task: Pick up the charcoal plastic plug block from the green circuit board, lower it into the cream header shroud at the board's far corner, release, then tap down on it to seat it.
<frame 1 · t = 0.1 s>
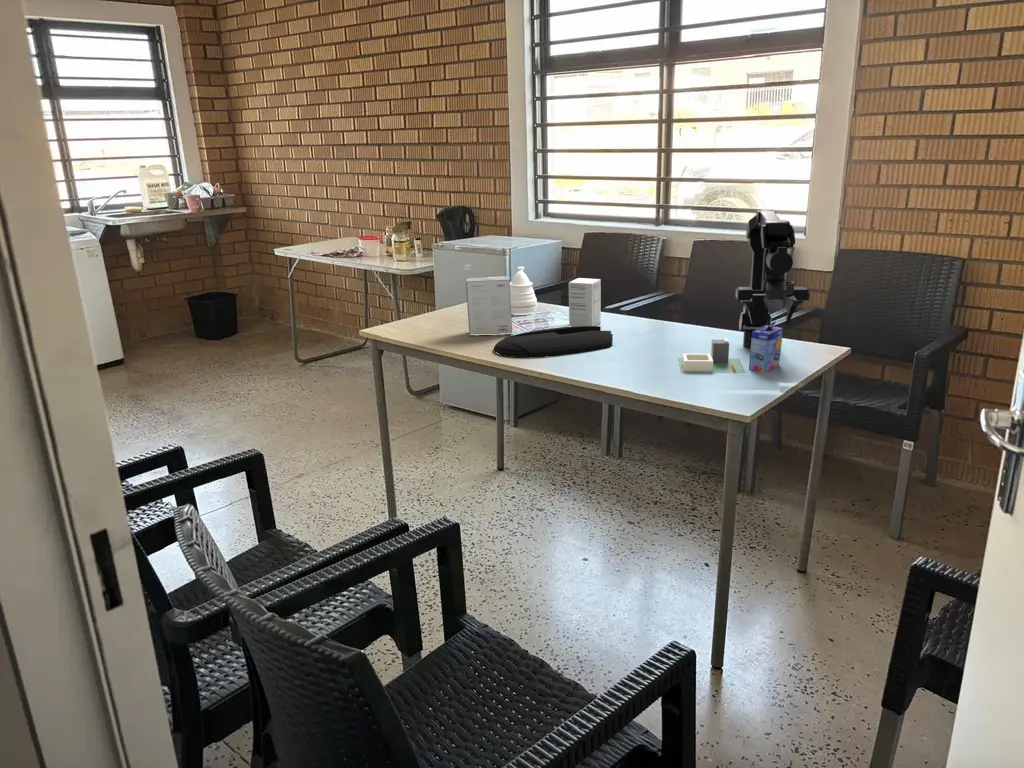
hand: (769, 324, 209), 15 cm above the table, fingers open, 9 cm apart
honey pot: (521, 313, 304), on the table
board: (710, 368, 221), on the table
header: (697, 367, 219), resting on board
plug: (719, 361, 224), point 1 cm above the table, touching board
supplement box: (584, 326, 278), on the table
hard drive box: (490, 334, 271), on the table
docking station: (552, 348, 252), on the table
ink cartridge box: (764, 371, 217), on the table
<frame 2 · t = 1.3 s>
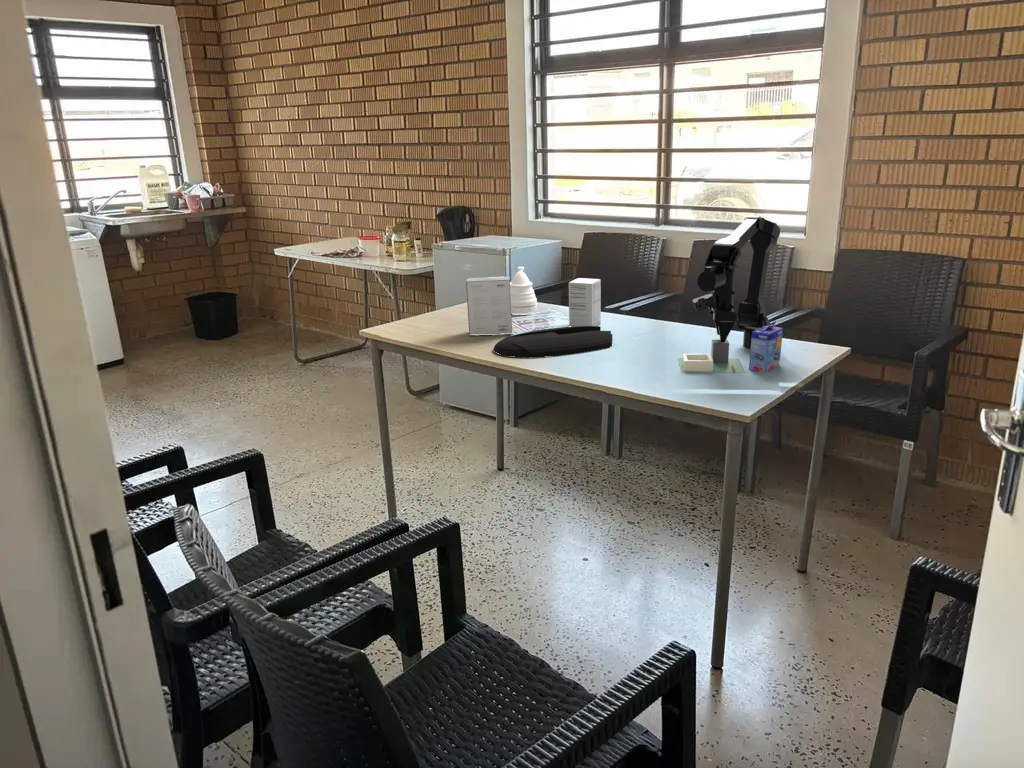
hand: (720, 338, 222), 8 cm above the table, fingers open, 9 cm apart
nothing on the table moved.
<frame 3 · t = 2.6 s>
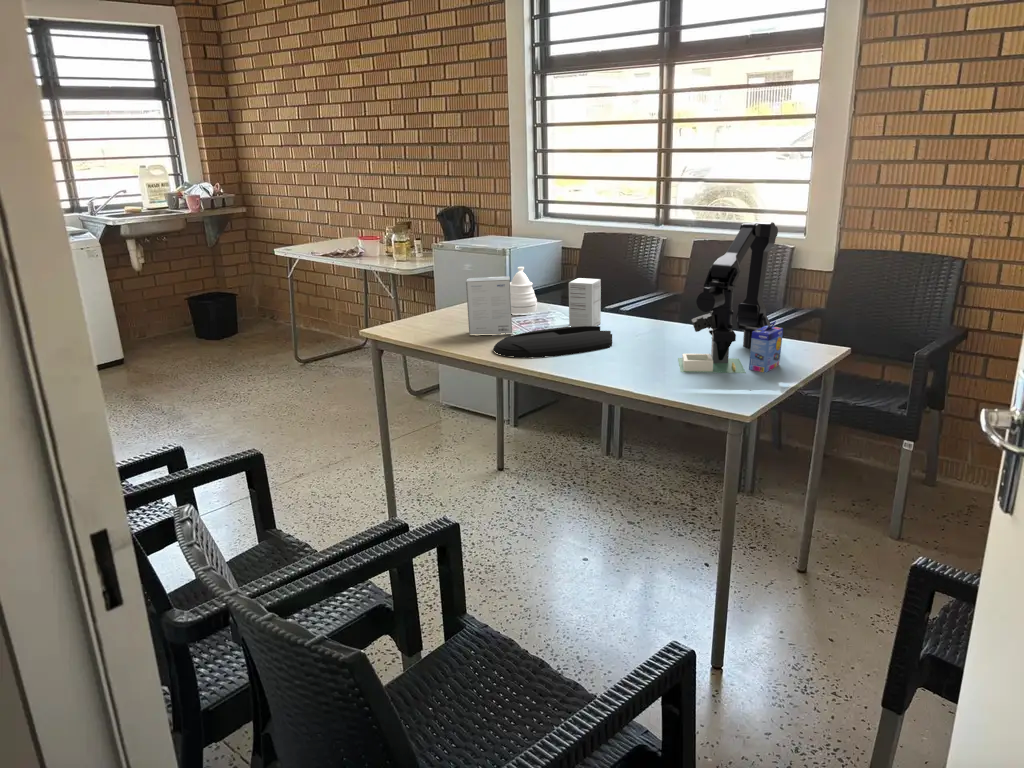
hand: (719, 357, 224), 2 cm above the table, fingers closed on plug, 4 cm apart
plug: (719, 361, 224), point 1 cm above the table, touching board, gripper
everything else where it was.
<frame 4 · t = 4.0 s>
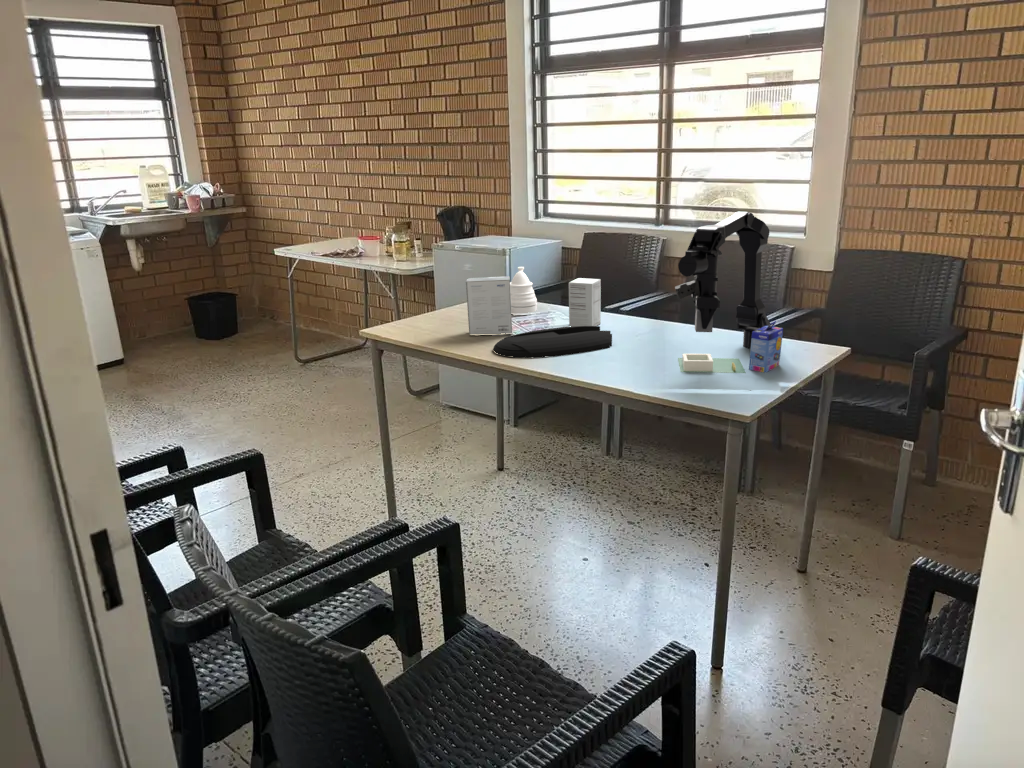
hand: (703, 327, 216), 13 cm above the table, fingers closed on plug, 4 cm apart
plug: (703, 330, 216), point 12 cm above the table, touching gripper
everything else where it was.
when the fingers open (5 cm above the table, at t = 5.9 s): plug drops 3 cm, resting on board.
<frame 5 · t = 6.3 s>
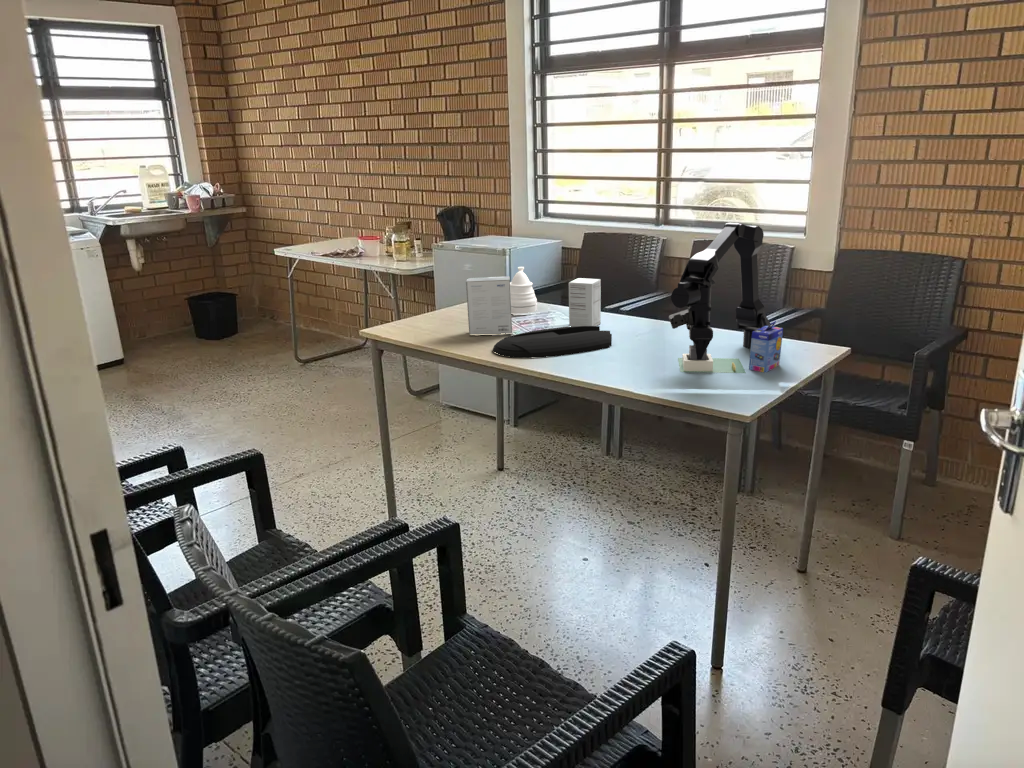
hand: (697, 355, 218), 5 cm above the table, fingers open, 9 cm apart
plug: (697, 367, 219), point 1 cm above the table, touching board
everything else where it was.
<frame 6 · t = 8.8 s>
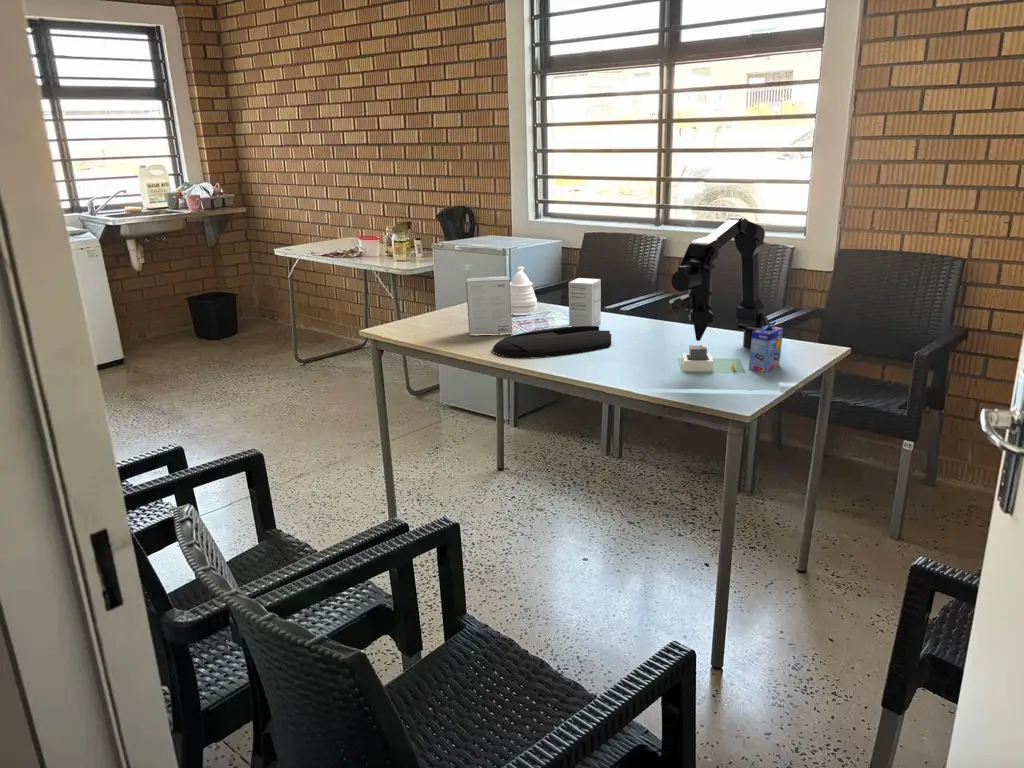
hand: (698, 340, 216), 9 cm above the table, fingers closed
nothing on the table moved.
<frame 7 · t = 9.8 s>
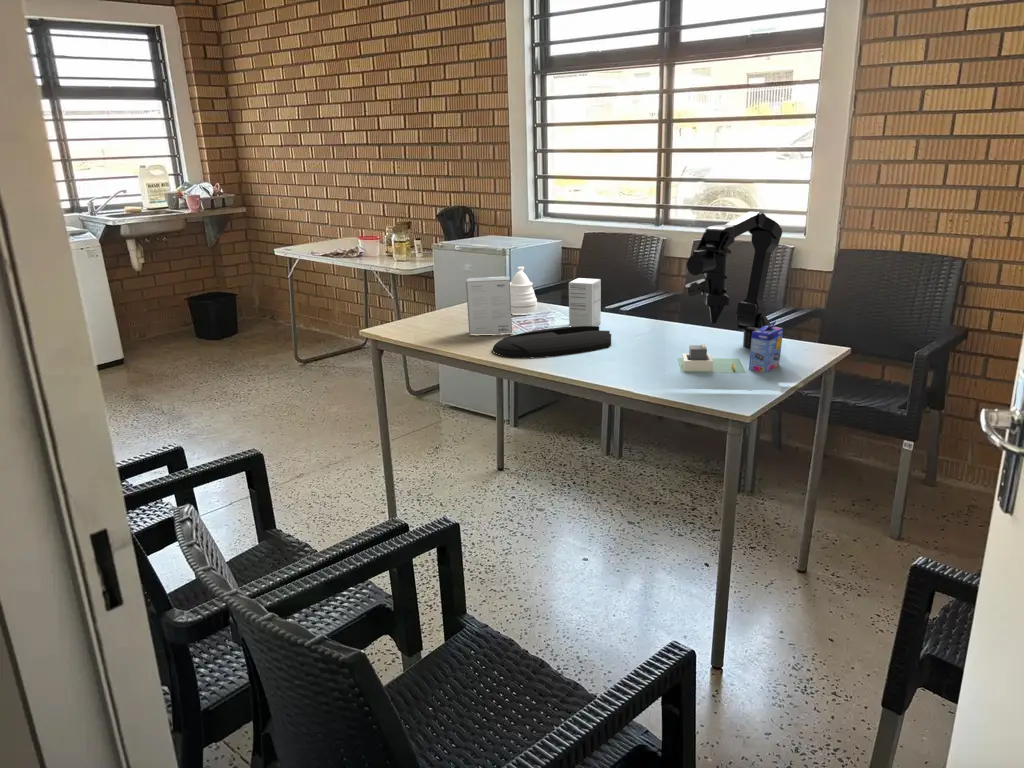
hand: (713, 323, 223), 12 cm above the table, fingers closed
nothing on the table moved.
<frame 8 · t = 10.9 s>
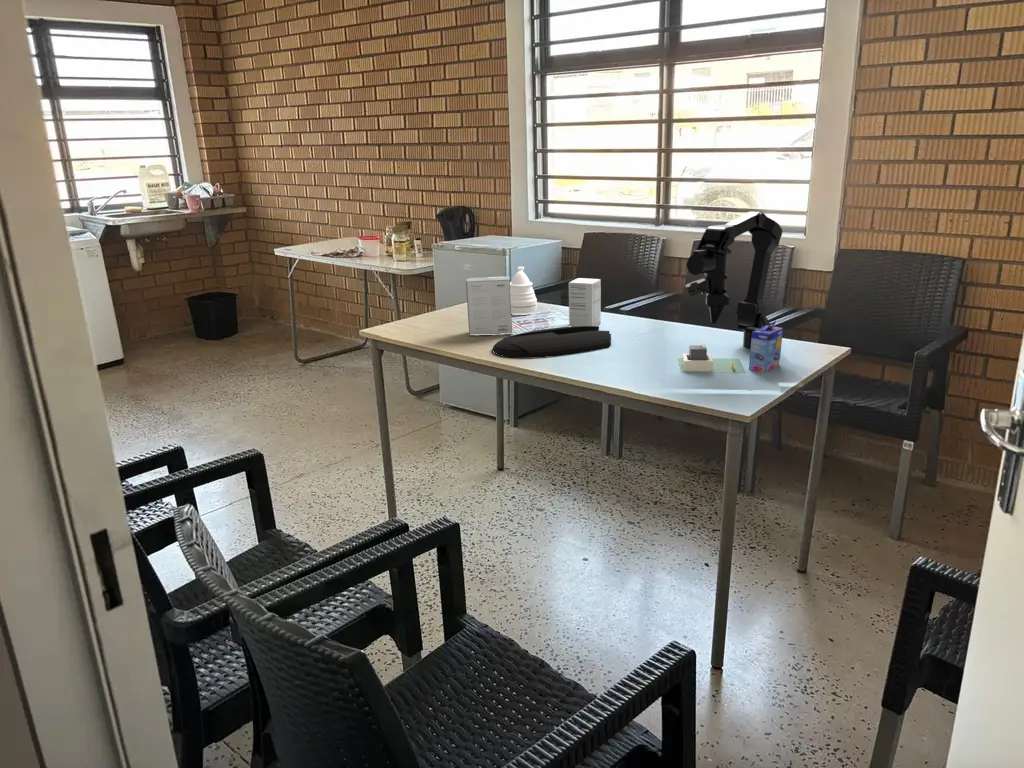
hand: (713, 323, 223), 12 cm above the table, fingers closed
nothing on the table moved.
at the end: plug 0.0 cm off-centre on the header, point 0.0 cm above the header's base; plug tilted 0°; the gripper is holding nothing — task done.
